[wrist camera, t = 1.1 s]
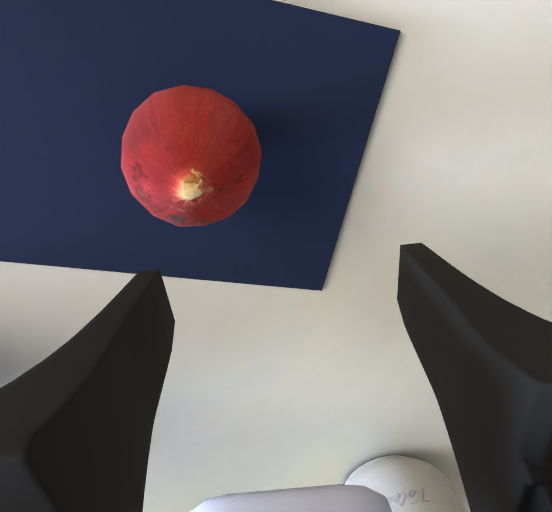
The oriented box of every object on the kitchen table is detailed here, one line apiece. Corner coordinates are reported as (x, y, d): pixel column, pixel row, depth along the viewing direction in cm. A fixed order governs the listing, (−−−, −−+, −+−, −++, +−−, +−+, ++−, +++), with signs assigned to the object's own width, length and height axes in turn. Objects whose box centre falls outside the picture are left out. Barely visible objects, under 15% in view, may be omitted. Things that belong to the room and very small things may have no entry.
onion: (219, 206, 25) (226, 289, 18) (114, 159, 23) (78, 232, 16) (271, 109, 23) (303, 162, 16) (162, 47, 20) (143, 77, 14)
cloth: (-33, 255, 24) (-35, 258, 24) (-79, -83, 17) (-83, -84, 17) (320, 288, 29) (322, 290, 29) (398, 30, 22) (400, 30, 22)
